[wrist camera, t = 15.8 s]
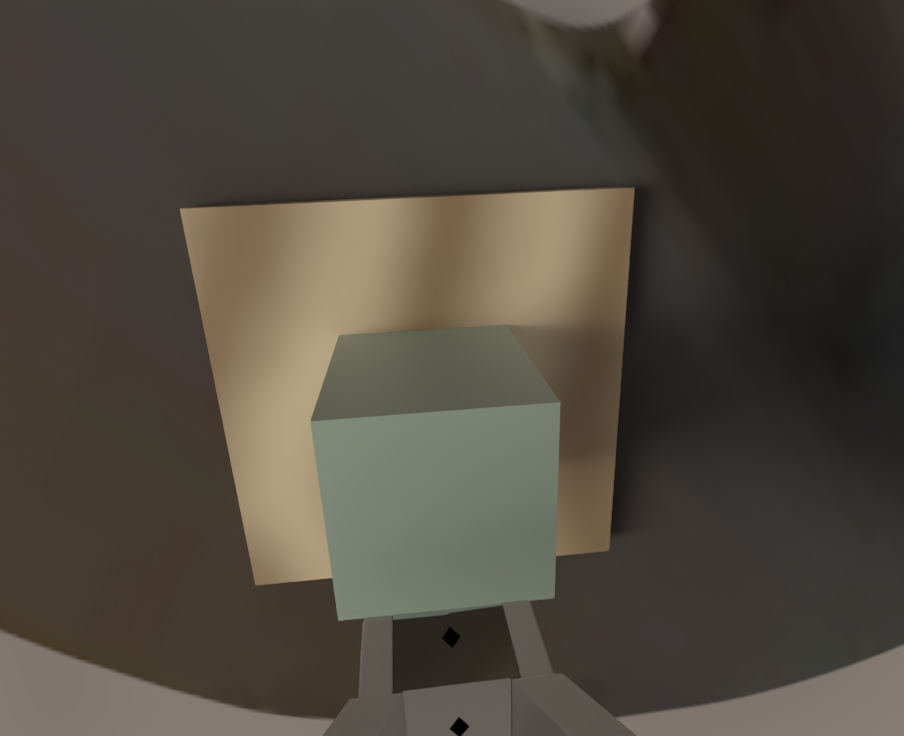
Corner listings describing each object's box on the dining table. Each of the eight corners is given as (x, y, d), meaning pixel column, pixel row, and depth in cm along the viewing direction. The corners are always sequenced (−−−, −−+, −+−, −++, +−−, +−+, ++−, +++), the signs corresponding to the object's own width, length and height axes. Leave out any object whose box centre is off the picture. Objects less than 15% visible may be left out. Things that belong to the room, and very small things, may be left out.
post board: (622, 186, 19) (741, 197, 12) (600, 535, 23) (676, 673, 17) (191, 206, 17) (75, 229, 11) (261, 567, 22) (208, 727, 16)
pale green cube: (506, 324, 19) (560, 401, 13) (506, 469, 21) (554, 598, 15) (338, 335, 18) (310, 421, 12) (355, 482, 20) (338, 620, 14)
